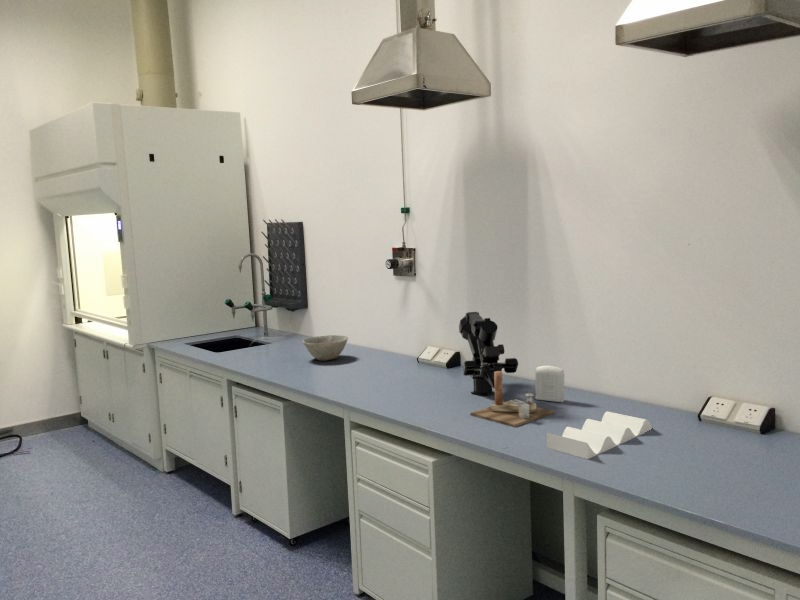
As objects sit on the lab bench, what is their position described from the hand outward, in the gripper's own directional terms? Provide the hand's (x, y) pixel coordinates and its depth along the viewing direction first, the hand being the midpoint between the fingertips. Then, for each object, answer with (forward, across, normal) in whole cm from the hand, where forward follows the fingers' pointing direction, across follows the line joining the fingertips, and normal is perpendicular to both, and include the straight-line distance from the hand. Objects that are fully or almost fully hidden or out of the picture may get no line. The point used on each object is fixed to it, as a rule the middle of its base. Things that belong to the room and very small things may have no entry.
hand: (494, 387), depth 228 cm
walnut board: (+11, +4, 0) cm, 11 cm away
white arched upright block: (+1, +21, +10) cm, 23 cm away
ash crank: (+10, +5, -1) cm, 11 cm away
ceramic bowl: (-67, -60, +77) cm, 118 cm away
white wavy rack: (+32, +23, -20) cm, 44 cm away
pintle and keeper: (+13, +8, -3) cm, 15 cm away
